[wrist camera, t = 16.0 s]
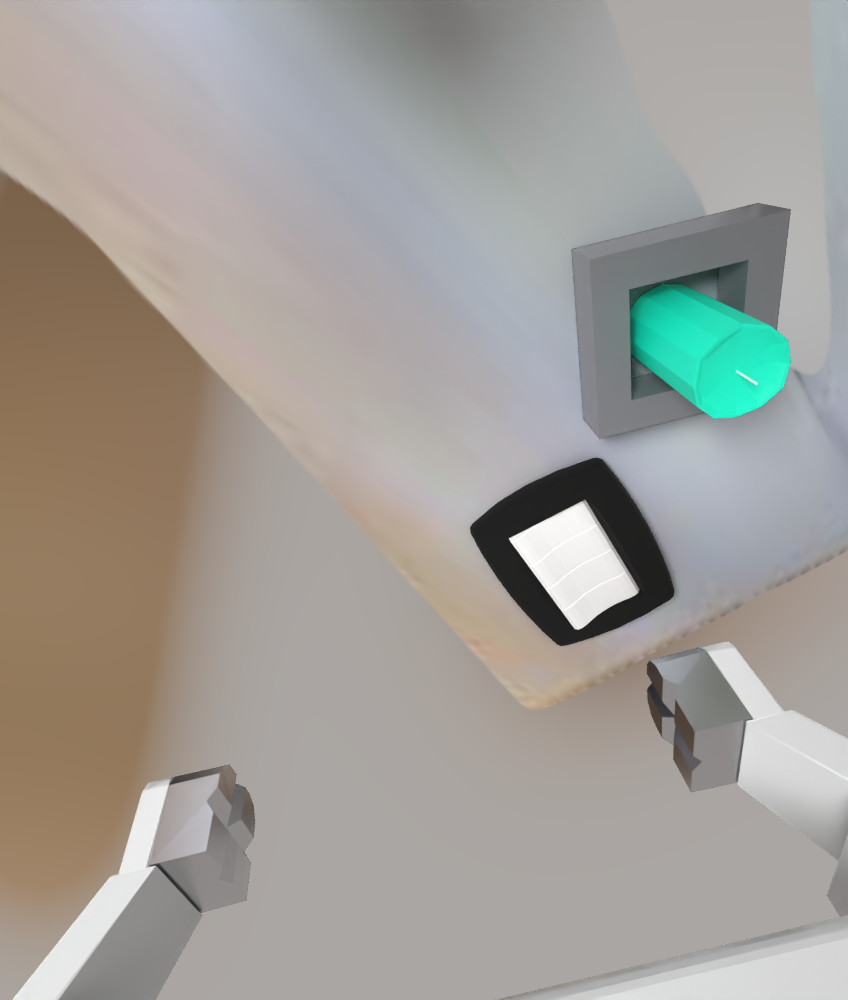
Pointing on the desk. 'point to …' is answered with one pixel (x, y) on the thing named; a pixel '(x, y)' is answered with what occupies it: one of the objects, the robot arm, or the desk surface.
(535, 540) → the light switch
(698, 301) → the candle
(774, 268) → the socket block
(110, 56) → the desk surface
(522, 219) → the desk surface
